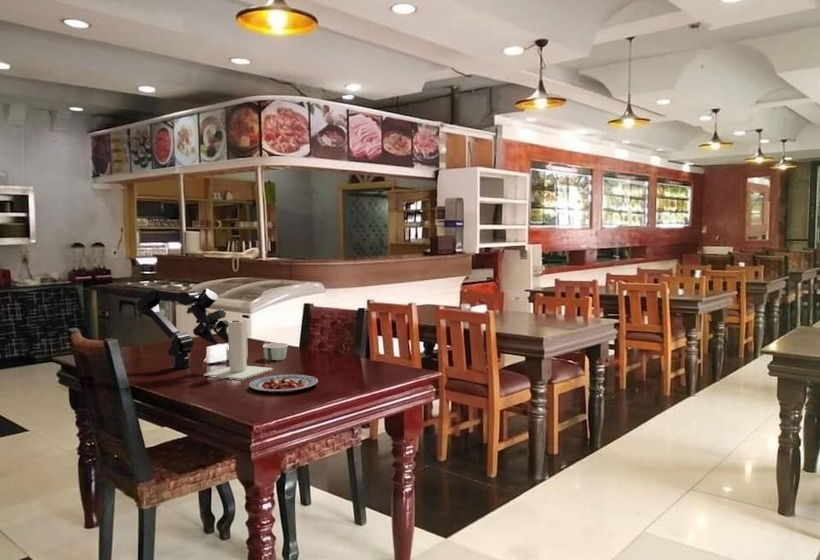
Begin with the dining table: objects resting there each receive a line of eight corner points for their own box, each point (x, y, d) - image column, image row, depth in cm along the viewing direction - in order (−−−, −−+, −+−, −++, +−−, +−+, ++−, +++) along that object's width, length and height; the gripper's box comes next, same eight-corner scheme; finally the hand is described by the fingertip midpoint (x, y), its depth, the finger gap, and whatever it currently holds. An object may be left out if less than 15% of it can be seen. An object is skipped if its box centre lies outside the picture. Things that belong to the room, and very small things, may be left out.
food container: (283, 361, 286) (283, 347, 286) (258, 361, 288) (258, 347, 288) (292, 356, 298) (291, 343, 298) (268, 356, 300) (268, 342, 299)
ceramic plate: (250, 398, 222) (250, 390, 222) (248, 382, 246) (248, 375, 246) (322, 392, 229) (322, 384, 229) (313, 377, 254) (313, 370, 253)
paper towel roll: (229, 373, 258) (228, 322, 257) (229, 370, 264) (227, 320, 262) (247, 371, 260) (246, 321, 259) (246, 368, 266) (245, 319, 264)
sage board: (204, 376, 257) (203, 373, 257) (236, 366, 275) (236, 364, 275) (242, 380, 249) (242, 378, 249) (272, 370, 267) (272, 368, 267)
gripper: (200, 303, 257) (222, 332, 254) (226, 302, 275) (246, 329, 272) (183, 320, 259) (204, 349, 256) (210, 318, 277) (230, 345, 274)
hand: (222, 342), depth 265 cm, fingers open, 9 cm apart
